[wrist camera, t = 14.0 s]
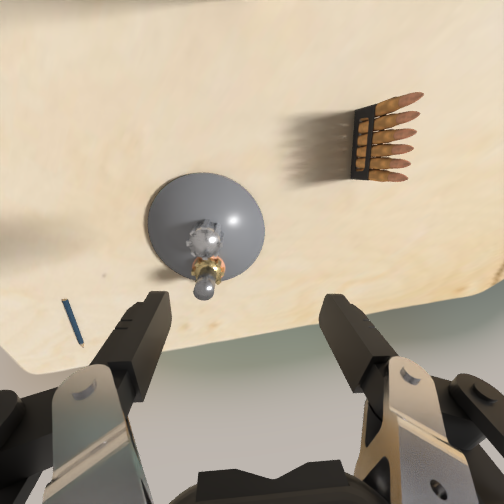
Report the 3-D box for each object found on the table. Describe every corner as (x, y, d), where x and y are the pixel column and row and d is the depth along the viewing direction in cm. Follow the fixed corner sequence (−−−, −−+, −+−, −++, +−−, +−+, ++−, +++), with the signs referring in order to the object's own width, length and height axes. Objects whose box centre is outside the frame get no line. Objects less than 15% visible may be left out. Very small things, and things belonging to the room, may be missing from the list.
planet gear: (192, 254, 39) (182, 276, 32) (224, 255, 40) (222, 276, 32) (194, 281, 42) (185, 307, 34) (224, 282, 42) (222, 307, 35)
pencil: (69, 298, 43) (86, 346, 49) (64, 298, 43) (82, 346, 49) (65, 300, 42) (84, 349, 48) (60, 300, 42) (79, 349, 48)
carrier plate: (140, 168, 33) (122, 169, 28) (269, 176, 35) (276, 180, 30) (158, 278, 42) (146, 296, 37) (259, 280, 44) (262, 297, 39)
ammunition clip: (360, 177, 37) (413, 185, 26) (350, 179, 37) (399, 187, 26) (366, 108, 32) (433, 82, 21) (355, 110, 32) (416, 84, 21)
